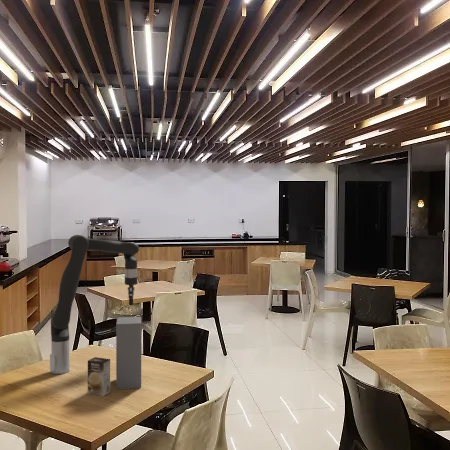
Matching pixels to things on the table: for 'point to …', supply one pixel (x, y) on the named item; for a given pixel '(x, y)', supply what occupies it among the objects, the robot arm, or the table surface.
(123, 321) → the pedestal
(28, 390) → the table surface
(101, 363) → the coffee box
